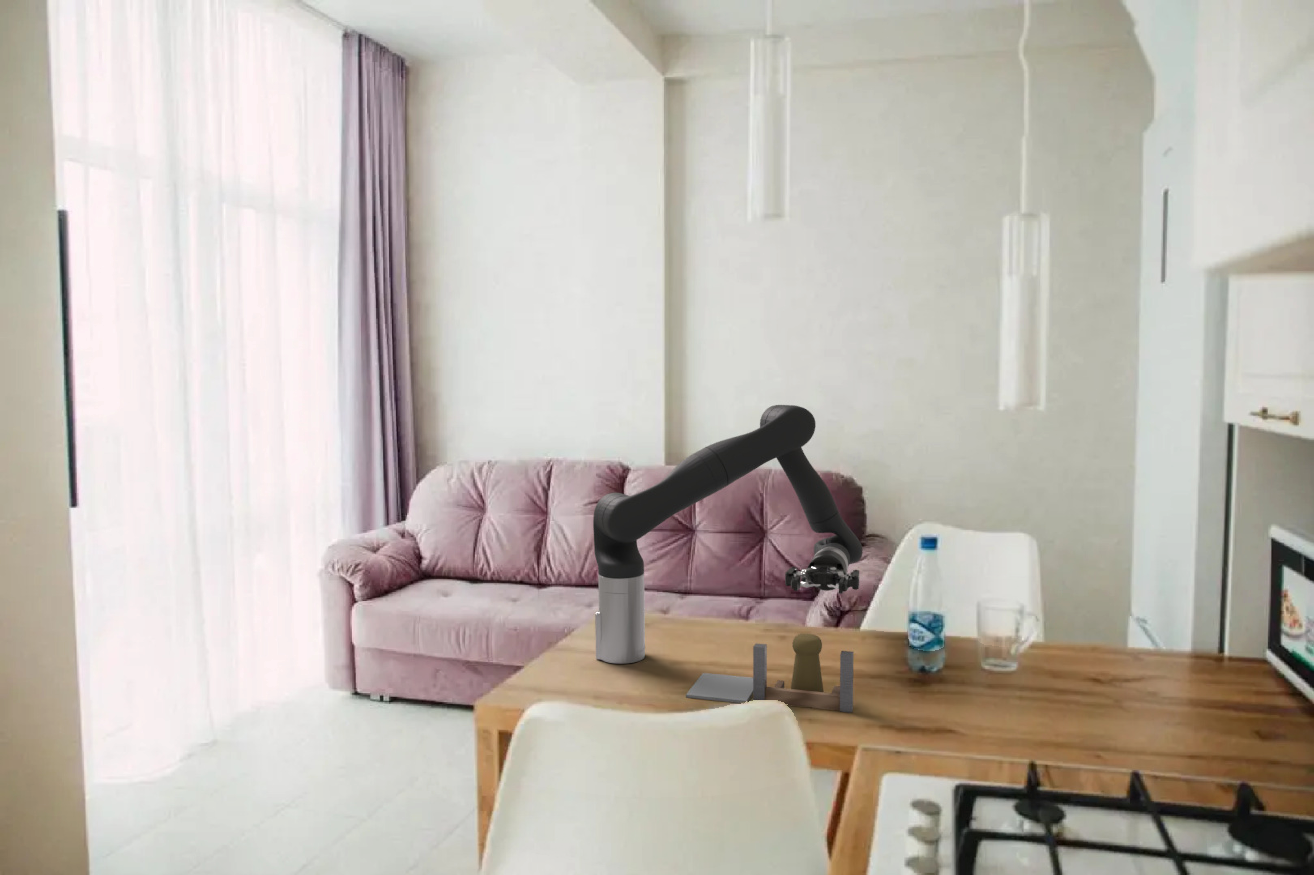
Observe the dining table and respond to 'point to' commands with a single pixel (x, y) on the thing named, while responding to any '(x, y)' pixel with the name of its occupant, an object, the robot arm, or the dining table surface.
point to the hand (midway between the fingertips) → (817, 587)
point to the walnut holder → (822, 700)
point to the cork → (807, 663)
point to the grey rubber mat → (722, 688)
